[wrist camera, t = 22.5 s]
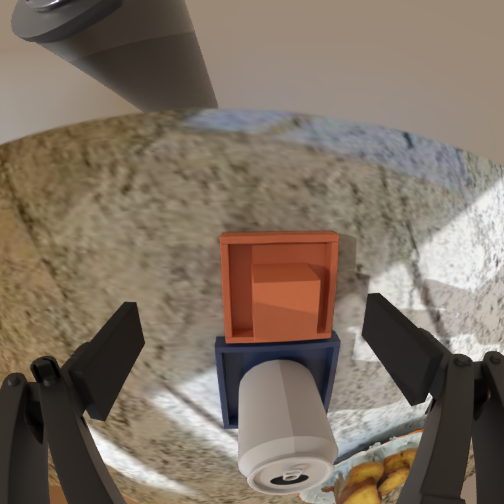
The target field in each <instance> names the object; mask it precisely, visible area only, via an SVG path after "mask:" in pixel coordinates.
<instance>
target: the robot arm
mask: <svg viewBox="0 0 504 504" xmlns="http://www.w3.org/2000/svg"><path fill="white" fill-rule="evenodd" d="M69 1H71V0H25V2H26V4H27V5H28V6H29V7H31V8H32V9H34V10H35V11H39V12H43V11H48V10H51V9H54V8H57V7H59V6H61V5H63V4H65V3H67V2H69ZM362 336H363V338H364V339H365V340H366V342H367V343H368V344H369V346H370V347H371V349H372V350H373V351H374V353H375V354H376V356H377V357H378V359H379V360H380V361H381V363H382V364H383V366H384V367H385V369H386V370H387V371H388V373H389V374H390V376H391V377H392V379H393V380H394V382H395V383H396V384H397V386H398V387H399V389H400V390H401V392H402V393H403V395H404V396H405V398H406V399H407V401H408V402H409V404H410V405H411V406H414V405H417V404H420V403H423V402H425V400H426V398H427V395H428V393H430V394H431V395H432V397H433V398H432V400H431V402H430V404H429V406H428V408H427V410H426V412H425V414H426V415H427V418H426V422H425V426H424V429H423V433H422V436H421V439H420V443H419V446H418V449H417V452H416V455H415V458H414V461H413V464H412V466H411V469H410V472H409V474H408V477H407V479H406V482H405V484H404V486H403V489H402V491H401V493H400V496H399V498H398V500H397V502H396V504H466V503H465V500H464V499H461V498H460V494H461V490H462V486H463V482H464V477H465V472H466V467H467V461H468V455H469V449H470V441H471V437H472V444H473V451H474V460H475V471H476V489H477V504H504V356H503V355H502V354H501V353H499V352H497V351H489V352H487V353H486V354H485V356H484V358H483V361H477V362H473V361H472V360H471V358H470V357H468V356H466V355H463V354H452V353H451V352H450V351H449V350H448V349H447V348H446V347H445V346H443V345H442V344H441V343H440V342H439V341H438V340H437V339H436V338H434V336H433V335H432V334H431V333H429V332H428V331H426V330H424V329H422V328H417V327H416V326H415V325H414V324H413V323H412V322H411V321H410V320H409V319H408V318H407V317H405V316H404V315H403V314H402V313H401V312H400V311H399V310H398V309H397V308H396V307H395V306H393V305H392V304H391V303H390V302H389V301H388V300H387V299H386V298H384V297H383V296H382V295H381V294H380V293H372V294H368V297H367V304H366V311H365V317H364V324H363V330H362ZM144 344H145V341H144V337H143V332H142V328H141V323H140V318H139V313H138V308H137V303H136V302H124V303H123V304H122V305H121V307H120V308H119V309H118V310H117V311H116V312H115V313H114V314H113V316H112V317H111V318H110V319H109V320H108V321H107V323H106V324H105V325H104V326H103V327H102V328H101V330H100V331H99V332H98V333H97V334H96V335H95V337H94V338H93V339H92V340H91V341H90V342H85V343H84V344H82V345H81V346H79V347H78V348H77V349H76V351H75V352H74V354H72V355H71V357H70V358H69V359H68V360H67V361H66V363H65V364H64V365H63V366H62V367H61V369H60V368H59V365H58V363H57V361H56V359H55V358H54V357H52V356H43V357H40V358H37V359H36V360H35V361H33V363H32V364H31V366H30V369H31V371H32V373H33V375H34V378H35V380H36V382H27V380H26V378H25V376H24V374H22V373H17V372H16V373H12V374H10V375H8V376H7V377H6V378H5V379H4V381H3V384H2V386H1V389H0V504H50V498H49V485H48V444H49V448H50V452H51V455H52V459H53V462H54V466H55V469H56V472H57V475H58V478H59V481H60V484H61V487H62V490H63V492H64V495H65V497H66V500H67V502H68V504H127V503H126V501H125V500H124V498H123V497H122V495H121V493H120V492H119V490H118V488H117V486H116V485H115V483H114V481H113V479H112V477H111V475H110V474H109V472H108V470H107V468H106V466H105V464H104V462H103V460H102V458H101V456H100V453H99V451H98V449H97V447H96V445H95V442H94V440H93V438H92V435H91V433H90V431H89V428H88V426H87V423H86V421H85V419H84V417H83V413H84V411H85V410H86V411H87V412H88V414H89V416H90V418H92V419H96V420H101V421H105V420H106V418H107V416H108V414H109V412H110V410H111V408H112V406H113V404H114V402H115V400H116V398H117V396H118V394H119V392H120V390H121V388H122V386H123V384H124V382H125V380H126V378H127V376H128V375H129V373H130V371H131V369H132V367H133V365H134V363H135V361H136V359H137V357H138V356H139V354H140V352H141V350H142V348H143V346H144ZM427 413H428V414H427Z"/></svg>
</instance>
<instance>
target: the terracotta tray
mask: <svg viewBox="0 0 504 504" xmlns="http://www.w3.org/2000/svg"><path fill="white" fill-rule="evenodd" d="M338 247H339V234H337V233H335V232H333V231H269V232H225V233H222V234H221V236H220V251H221V272H222V291H223V308H224V324H225V339H226V343H261V342H254V332H253V319H252V278H251V265H252V264H280V263H307V264H308V266H309V267H310V268H311V269H312V270H313V272H314V273H315V274H316V275H317V277H318V278H319V279H320V281H321V283H320V298H319V311H318V323H317V334H316V338H313V339H323V338H331V331H332V322H333V313H334V303H335V292H336V279H337V265H338ZM299 340H311V339H299ZM284 341H298V340H284ZM263 342H282V341H263Z"/></svg>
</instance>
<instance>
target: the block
mask: <svg viewBox="0 0 504 504" xmlns="http://www.w3.org/2000/svg"><path fill="white" fill-rule="evenodd" d="M251 278H252V319H253V332H254V342H263V341H284V340H299V339H313V338H316V334H317V323H318V311H319V298H320V283H321V281H320V279H319V278H318V277H317V275H316V274H315V273H314V272H313V270H312V269H311V268H310V267H309V266H308V264H307V263H280V264H252V265H251Z"/></svg>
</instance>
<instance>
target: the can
mask: <svg viewBox="0 0 504 504" xmlns="http://www.w3.org/2000/svg"><path fill="white" fill-rule="evenodd" d="M337 457H338V448H337V445H336V442H335V439H334V436H333V433H332V430H331V427H330V424H329V421H328V418H327V415H326V412H325V409H324V406H323V404H322V401H321V398H320V395H319V392H318V389H317V386H316V383H315V381H314V378H313V376H312V374H311V372H310V371H309V369H307V368H306V367H305V366H303V365H302V364H300V363H297V362H294V361H291V360H279V359H278V360H272V361H266V362H264V363H261V364H259V365H257V366H254V367H253V368H252V369H251V370H249V371H248V372H247V373H246V374H245V375H244V377H243V378H242V380H241V381H240V386H239V417H238V467H239V469H240V471H241V473H242V474H243V475H245V476H246V477H247V482H248V484H249V486H250V487H252V488H253V489H255V490H256V491H259V492H262V493H265V494H273V495H287V494H294V493H300V492H303V491H307V490H310V489H312V488H315V487H317V486H319V485H321V484H322V483H324V482H325V481H326V480H328V479H329V478H330V476H331V475H332V474H333V472H334V465H333V463H334V461H335V460H336V458H337Z"/></svg>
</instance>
